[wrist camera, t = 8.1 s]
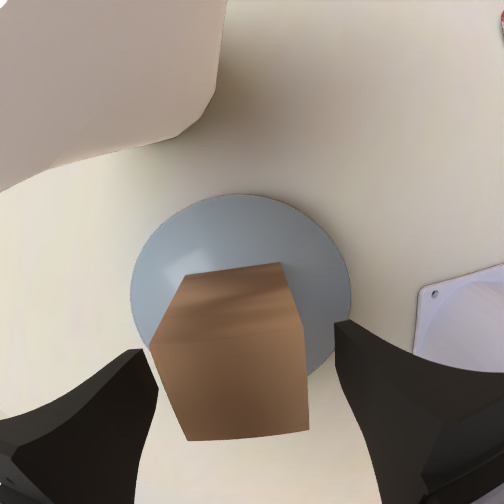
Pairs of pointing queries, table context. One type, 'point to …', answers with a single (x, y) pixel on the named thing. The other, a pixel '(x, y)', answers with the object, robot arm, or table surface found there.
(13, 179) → the foam cup
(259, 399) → the block
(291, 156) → the table surface
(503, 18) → the soda can
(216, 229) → the dish
